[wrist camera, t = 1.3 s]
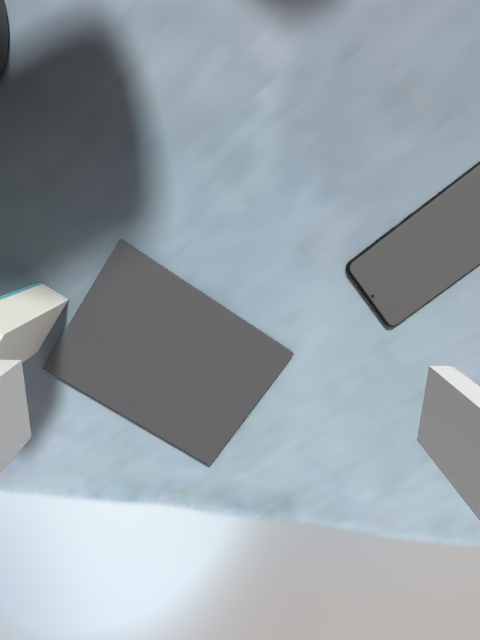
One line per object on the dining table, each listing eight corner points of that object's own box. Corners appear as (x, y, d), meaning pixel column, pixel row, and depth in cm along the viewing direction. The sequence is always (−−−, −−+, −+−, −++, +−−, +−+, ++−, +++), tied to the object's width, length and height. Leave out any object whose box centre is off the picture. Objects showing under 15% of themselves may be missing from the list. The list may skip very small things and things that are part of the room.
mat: (45, 365, 36) (42, 368, 35) (121, 239, 33) (119, 239, 33) (210, 461, 39) (209, 465, 38) (292, 351, 36) (293, 354, 35)
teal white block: (9, 334, 35) (-76, 381, 26) (39, 281, 34) (-38, 309, 24) (38, 351, 36) (-36, 404, 26) (68, 299, 35) (4, 334, 25)
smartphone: (548, 215, 33) (391, 330, 35) (539, 215, 34) (387, 327, 36) (505, 142, 32) (344, 266, 34) (498, 144, 32) (341, 265, 34)
